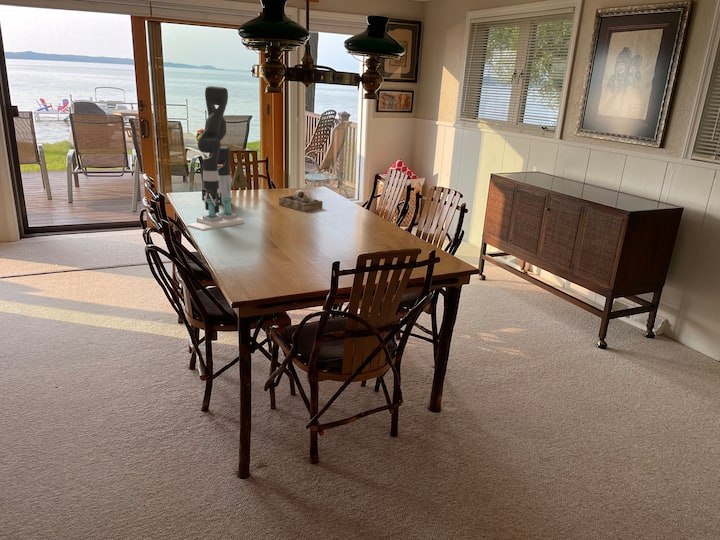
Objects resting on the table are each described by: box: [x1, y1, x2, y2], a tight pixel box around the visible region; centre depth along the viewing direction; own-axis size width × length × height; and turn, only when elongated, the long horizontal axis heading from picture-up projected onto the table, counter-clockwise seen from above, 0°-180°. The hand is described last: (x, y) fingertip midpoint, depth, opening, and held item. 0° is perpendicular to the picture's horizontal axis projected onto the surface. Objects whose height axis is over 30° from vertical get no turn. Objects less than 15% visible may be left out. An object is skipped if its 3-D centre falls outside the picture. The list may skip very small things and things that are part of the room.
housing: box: [196, 211, 245, 229], centre depth 272 cm, size 17×17×4 cm
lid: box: [186, 221, 214, 231], centre depth 261 cm, size 12×6×1 cm, turn 56°
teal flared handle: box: [222, 197, 233, 215], centre depth 273 cm, size 5×5×10 cm
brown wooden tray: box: [278, 194, 323, 213], centre depth 316 cm, size 23×14×4 cm, turn 48°
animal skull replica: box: [293, 189, 315, 204], centre depth 314 cm, size 8×17×10 cm, turn 49°
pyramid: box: [231, 160, 250, 189], centre depth 364 cm, size 13×13×18 cm
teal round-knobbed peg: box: [207, 199, 217, 218], centre depth 267 cm, size 5×5×10 cm
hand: (212, 211), depth 267 cm, fingers open, 8 cm apart
